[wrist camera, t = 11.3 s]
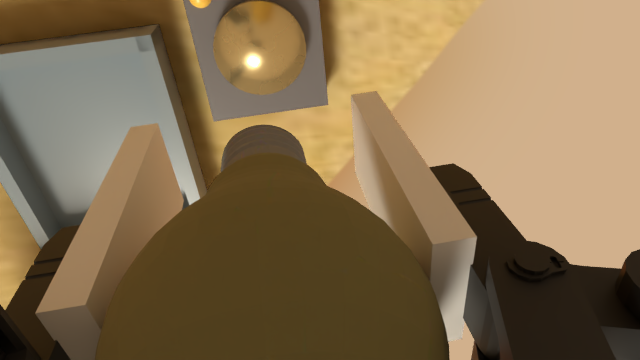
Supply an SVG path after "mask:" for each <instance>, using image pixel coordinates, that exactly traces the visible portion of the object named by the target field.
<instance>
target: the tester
mask: <svg viewBox="0 0 640 360" xmlns="http://www.w3.org/2000/svg"><path fill="white" fill-rule="evenodd" d="M183 1H184V5H185V9H186V13H187V17H188V21H189V25H190V29H191V33H192V37H193V41H194V45H195V49H196V53H197V57H198V61H199V65H200V69H201V73H202V77H203V80H204V84H205V88H206V92H207V96H208V100H209V104H210V108H211V112H212V116H213V120H214V121H220V120H227V119H234V118H241V117H248V116H254V115H261V114H268V113H275V112H282V111H289V110H296V109H303V108H310V107H316V106H323V105H328V97H327V86H326V75H325V64H324V53H323V42H322V31H321V20H320V9H319V0H267V1H271V2H274V3H277V4H279V5H281V6H283V7H284V8H285V9H287V10H288V11H289V12H290V13H291V14H292V15H293V16H294V17H295V18H296V20H297V21H298V23H299V24H300V27H301V29H302V31H303V33H304V37H305V41H306V59H305V63H304V66H303V68H302V70H301V72H300V74H299V75H298V77H297V78H296V79H295V80H294V82H293V83H291V84H290V85H289V86H288V87H286V88H285V89H283V90H281V91H279V92H276V93H272V94H266V95H256V94H251V93H247V92H244V91H242V90H240V89H238V88H236V87H235V86H233V85H232V84H231V83H230V82H229V81H228V80H226V79H225V77H224V76H223V75H222V73H221V72H220V70H219V68H218V66H217V64H216V61H215V58H214V52H213V42H214V36H215V32H216V29H217V26H218V24H219V22H220V20H221V19H222V17H223V16H224V15H225V14H226V13H227V12H228V11H229V10H230V9H231V8H233V7H234V6H236V5H237V4H239V3H242V2H245V1H249V0H183Z"/></svg>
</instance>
